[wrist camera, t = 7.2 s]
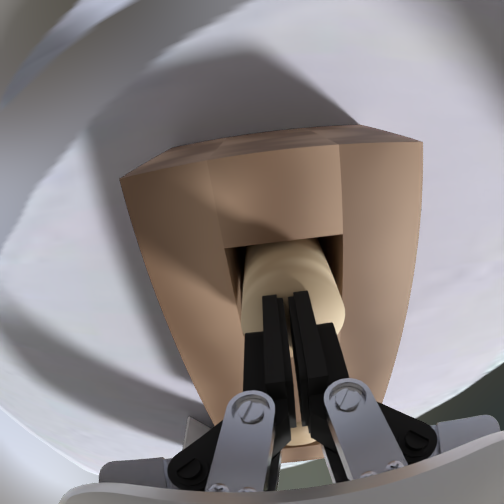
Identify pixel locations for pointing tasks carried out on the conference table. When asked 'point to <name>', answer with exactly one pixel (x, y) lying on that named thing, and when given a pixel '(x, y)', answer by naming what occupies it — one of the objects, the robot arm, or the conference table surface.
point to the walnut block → (276, 230)
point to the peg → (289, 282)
